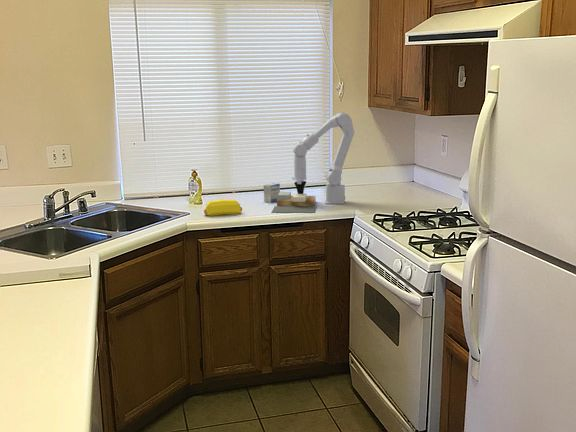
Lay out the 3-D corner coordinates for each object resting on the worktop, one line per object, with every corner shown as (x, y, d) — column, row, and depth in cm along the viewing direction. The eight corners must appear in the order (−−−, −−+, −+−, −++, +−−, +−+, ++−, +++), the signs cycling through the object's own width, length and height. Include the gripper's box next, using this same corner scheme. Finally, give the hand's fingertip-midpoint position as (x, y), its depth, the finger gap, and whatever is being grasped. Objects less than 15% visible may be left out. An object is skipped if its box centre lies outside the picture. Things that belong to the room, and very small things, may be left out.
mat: (316, 206, 310) (316, 206, 310) (314, 212, 297) (314, 212, 297) (274, 206, 312) (274, 206, 312) (271, 212, 299) (271, 212, 299)
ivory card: (306, 198, 316) (306, 193, 316) (305, 201, 307) (305, 197, 307) (294, 198, 317) (294, 193, 316) (292, 201, 308) (292, 197, 308)
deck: (315, 201, 323) (315, 195, 322) (314, 206, 311) (314, 200, 310) (279, 201, 324) (279, 195, 324) (276, 206, 313) (276, 200, 312)
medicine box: (270, 202, 322) (270, 185, 320) (263, 201, 325) (263, 184, 323) (280, 200, 328) (280, 183, 326) (273, 199, 331) (273, 182, 329)
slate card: (290, 196, 322) (290, 191, 322) (289, 199, 313) (289, 195, 313) (279, 196, 323) (279, 191, 322) (277, 199, 314) (277, 195, 313)
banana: (202, 214, 300) (204, 217, 293) (202, 199, 298) (204, 202, 291) (241, 211, 304) (244, 214, 297) (240, 197, 303) (243, 200, 295)
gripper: (293, 166, 322) (293, 193, 325) (290, 171, 308) (291, 199, 311) (307, 166, 321) (307, 193, 324) (305, 171, 307) (305, 199, 310)
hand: (300, 196), depth 317 cm, fingers closed
